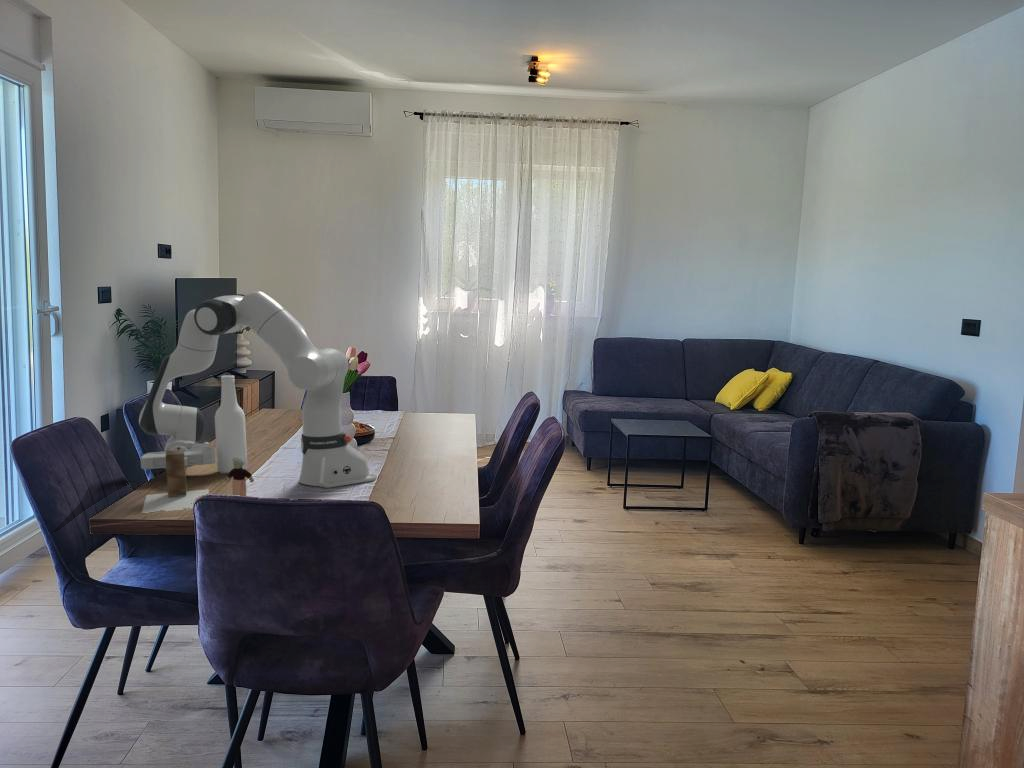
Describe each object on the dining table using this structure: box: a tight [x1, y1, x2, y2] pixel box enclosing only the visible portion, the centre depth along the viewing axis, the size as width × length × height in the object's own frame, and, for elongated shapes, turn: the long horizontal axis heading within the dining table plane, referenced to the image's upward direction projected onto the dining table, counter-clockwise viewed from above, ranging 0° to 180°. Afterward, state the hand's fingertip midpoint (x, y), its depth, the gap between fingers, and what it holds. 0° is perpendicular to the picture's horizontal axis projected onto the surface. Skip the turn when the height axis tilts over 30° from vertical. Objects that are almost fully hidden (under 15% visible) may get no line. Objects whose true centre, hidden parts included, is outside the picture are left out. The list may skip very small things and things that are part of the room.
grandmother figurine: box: [225, 456, 255, 497], centre depth 208 cm, size 8×4×13 cm, turn 95°
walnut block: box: [165, 450, 187, 498], centre depth 212 cm, size 4×4×12 cm
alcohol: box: [214, 374, 248, 475], centre depth 238 cm, size 9×9×30 cm
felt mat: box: [141, 488, 210, 514], centre depth 207 cm, size 16×18×1 cm
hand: (177, 464), depth 222 cm, fingers closed
